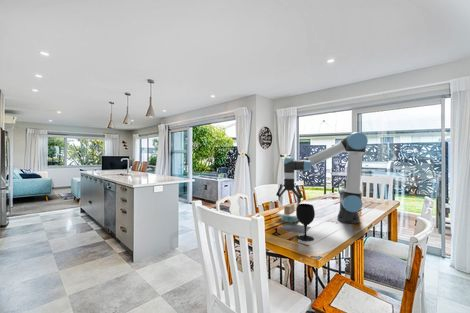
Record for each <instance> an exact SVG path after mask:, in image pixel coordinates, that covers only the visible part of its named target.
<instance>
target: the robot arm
mask: <svg viewBox="0 0 470 313" xmlns="http://www.w3.org/2000/svg"><path fill="white" fill-rule="evenodd" d="M368 142H369V139H368V136H367V135H365V134H364V132H359V131H355V132H352V133H350V134H349V135H347V136H346V137H345V138H342V139H341V140H339V141H338V143H336V144H333V145H331V146H329V147H328V148H325V149H323V150H321V151H318V152H317V153H315V154H312V155H310V156H308V157H306V158H303V159H301V160H300V159H299V160H298V159H297V160H295V158H294V157H284V159H283V178H284V179H283V183H280V184H279V188H278V191H276V194H275V195H276V196H277V197H278V201H279V206H283V196H282V195H283V194H284V193H285V192H286V191H287V192H288V191H291V192H293V194H294V195H295V196H296V202H297V203H296V206H297V205H298V204H301V200H302V199H303V198H304V196H303V194H302V192H301V190H300V186H299V184H295V171H300V172H301V171H302V172H303V171H305V172H306V171H311V170H312V167H313V166H316V165H318V164H320V163H322V162H324V161H326V160H329V159H331V158H333V157H336V156H337V155H341V154H342V153H347V154H348V155H347V167H346V180H345V188H344V189H340V190H339V211H338V214H337V216H336V218H337V221H338V222H342V223H345V224H346V223H347V224H359V223H360V222H361V218H360V215H359V211H360V210H361V209H362V208H363V201H362V197H363V192H362V191H361V188H360V187H361V179H362V165H363V163H362V162H363V155H364V154H365V153H366V149H367V148H366V147H367V145H368ZM282 189H283V190H282Z"/></svg>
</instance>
